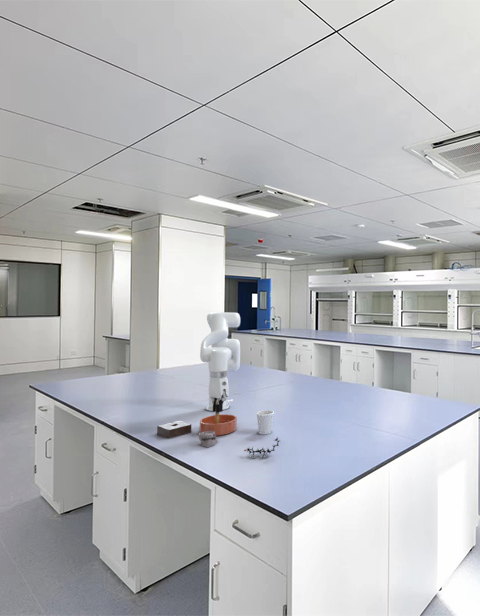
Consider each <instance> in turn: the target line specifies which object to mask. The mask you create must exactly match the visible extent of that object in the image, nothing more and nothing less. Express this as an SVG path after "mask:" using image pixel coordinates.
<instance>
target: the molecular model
mask: <svg viewBox="0 0 480 616" xmlns="http://www.w3.org/2000/svg"><path fill="white" fill-rule="evenodd" d="M273 442H277V444H272V445H271V446H272V449H269V447H266V449H267V450H265V447H264V446H262V447H261V448H260V447H257V448H256V450H254V446H248V447H246V449H244V450H243V452H246V454H248V456H249V457H250V458H256V456H255V453H257V455H259V456H260V458H263V457H264V458H267V455H268V454H269V456H271V455H272V452H274V453H275V452H276V450H275V447H280V444H279V442H282V439H280V440H279V436H276V438H275V439H273ZM262 453H263V455H261V454H262Z"/></svg>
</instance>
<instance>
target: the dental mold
mask: <svg viewBox="0 0 480 616" xmlns="http://www.w3.org/2000/svg"><path fill="white" fill-rule="evenodd" d="M213 435H214V436H213ZM198 439H199V441H200V445H199V446H202V447H205V448H211V447H213V446H214V445H215V444H217V436H216V434H215V431H205V432H201V433H200V432H199V433H198Z"/></svg>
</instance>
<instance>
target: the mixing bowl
mask: <svg viewBox="0 0 480 616" xmlns="http://www.w3.org/2000/svg"><path fill="white" fill-rule="evenodd" d="M237 421H238V417H237V416H236V415H234V414H227V413H226V414H224V413H223V414H222V413H221V414H219V424H215V414H214V415H209V416H205V417H203V418H201V419H200V420H199V429H198V430H199V433H201V432H205V431H215V434H216V437H217V436H224V435H225V436H226V435H228V434H231V433H233V432H235V431H236V430H237V428H238V427H237V424H238V423H237ZM213 436H214V435H213Z"/></svg>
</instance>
